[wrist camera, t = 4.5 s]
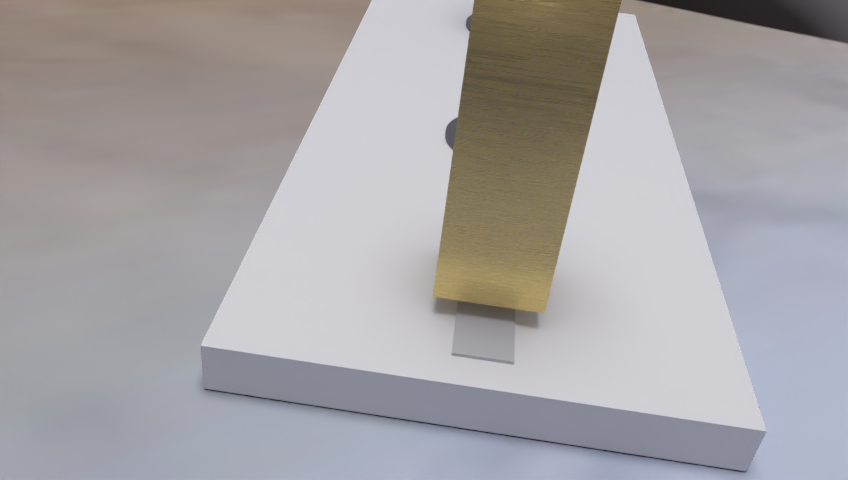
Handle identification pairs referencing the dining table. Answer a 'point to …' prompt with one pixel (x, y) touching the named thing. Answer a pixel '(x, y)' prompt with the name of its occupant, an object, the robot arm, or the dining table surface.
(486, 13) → the block
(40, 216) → the dining table surface
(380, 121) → the board
